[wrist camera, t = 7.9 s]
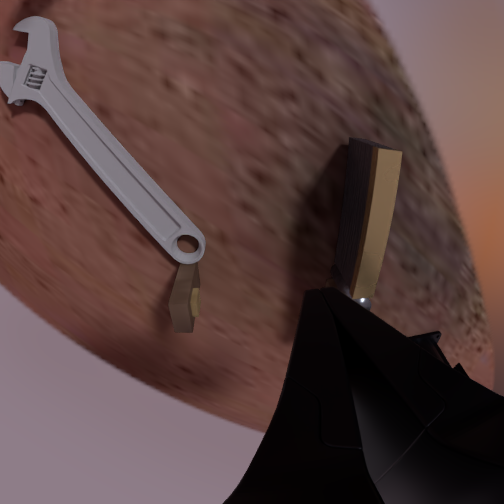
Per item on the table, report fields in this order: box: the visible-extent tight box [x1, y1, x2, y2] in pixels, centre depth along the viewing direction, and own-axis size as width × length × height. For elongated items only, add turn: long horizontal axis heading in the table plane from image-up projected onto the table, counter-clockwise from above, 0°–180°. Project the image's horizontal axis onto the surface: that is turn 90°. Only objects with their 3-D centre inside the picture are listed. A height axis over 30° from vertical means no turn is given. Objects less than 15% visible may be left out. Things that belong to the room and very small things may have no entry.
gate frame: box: [168, 262, 338, 333], centre depth 21 cm, size 14×3×6 cm, turn 81°
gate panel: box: [330, 137, 402, 310], centre depth 18 cm, size 11×2×5 cm, turn 0°
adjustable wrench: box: [0, 16, 206, 264], centre depth 16 cm, size 25×6×2 cm, turn 32°
